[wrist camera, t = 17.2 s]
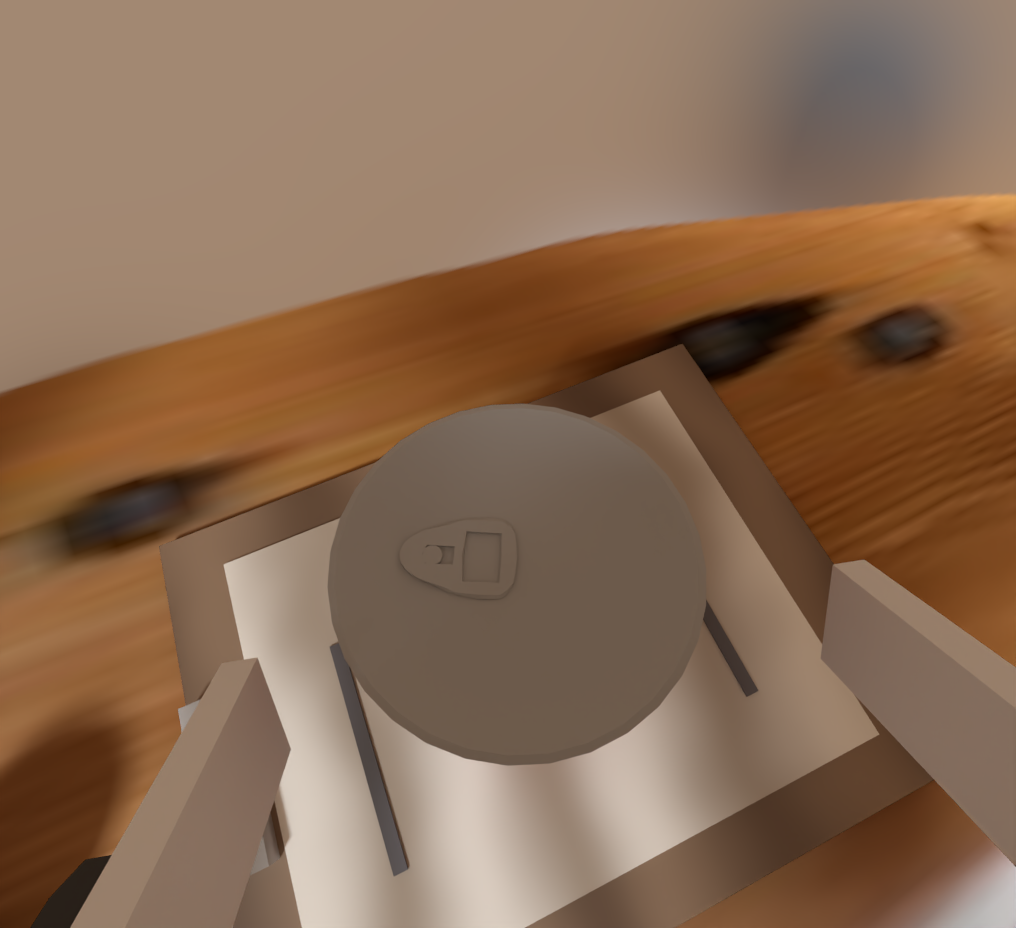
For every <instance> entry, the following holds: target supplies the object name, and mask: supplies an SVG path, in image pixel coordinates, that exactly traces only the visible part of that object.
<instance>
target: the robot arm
mask: <svg viewBox="0 0 1016 928" xmlns="http://www.w3.org/2000/svg"><path fill="white" fill-rule="evenodd" d="M820 659H821V660H822V661H823V662H824V663H825V664H826V665H827V666H828V667H829V668H830V669H831V670H832V671H833V672H834V673H835V675H836V676H837V677H838V678H839V679H840V680H841V681H842V682H843V683H844V684H845V685H846V686H847V687H848V688H849V689H850V691H851V692H852V693H853V694H854V695H855V696H856V697H857V698H858V699H859V700H860V701H861V702H862V703H863V704H864V705H865V707H866V708H867V709H868V710H869V711H870V712H871V713H872V714H873V715H874V716H875V717H876V718H877V719H878V720H879V721H880V722H881V724H882V725H883V726H884V727H885V728H886V729H887V730H888V731H889V732H890V733H891V734H892V735H893V736H894V737H895V738H896V740H897V741H898V742H899V743H900V744H901V745H902V746H903V747H904V748H905V749H906V750H907V751H908V752H909V753H910V754H911V756H912V757H913V758H914V759H915V760H916V761H917V762H918V763H919V764H920V765H921V766H922V767H923V768H924V769H925V770H926V772H927V773H928V774H929V775H930V776H931V777H932V778H933V779H934V780H935V781H936V782H937V783H938V784H939V785H940V786H941V787H942V789H943V790H944V791H945V792H946V793H947V794H948V795H949V796H950V797H951V798H952V799H953V800H954V801H955V802H956V803H957V805H958V806H959V807H960V808H961V809H962V810H963V811H964V812H965V813H966V814H967V815H968V816H969V817H970V818H971V819H972V821H973V822H974V823H975V824H976V825H977V826H978V827H979V828H980V829H981V830H982V831H983V832H984V833H985V834H986V835H987V836H988V838H989V839H990V840H991V841H992V842H993V843H994V844H995V845H996V846H997V847H998V848H999V849H1000V850H1001V851H1002V852H1003V854H1004V855H1005V856H1006V857H1007V858H1008V859H1009V860H1010V861H1011V862H1012V863H1013V864H1014V865H1015V866H1016V667H1014V666H1013V665H1011V664H1010V663H1009V662H1007V661H1006V660H1004V659H1003V658H1002V657H1000V656H999V655H997V654H996V653H995V652H993V651H992V650H990V649H989V648H988V647H986V646H985V645H983V644H982V643H981V642H979V641H978V640H976V639H975V638H974V637H972V636H971V635H969V634H968V633H967V632H965V631H964V630H962V629H961V628H960V627H958V626H957V625H955V624H954V623H953V622H951V621H950V620H948V619H947V618H946V617H944V616H943V615H941V614H940V613H939V612H937V611H936V610H934V609H933V608H932V607H930V606H929V605H927V604H926V603H925V602H923V601H922V600H920V599H919V598H918V597H916V596H915V595H913V594H912V593H911V592H909V591H908V590H906V589H905V588H904V587H902V586H901V585H899V584H898V583H897V582H895V581H894V580H892V579H891V578H890V577H888V576H887V575H885V574H884V573H883V572H881V571H880V570H878V569H877V568H876V567H874V566H873V565H871V564H870V563H869V562H867V561H866V560H858V561H852V562H846V563H840V564H833V567H832V575H831V582H830V590H829V597H828V605H827V613H826V620H825V628H824V635H823V643H822V651H821V658H820ZM290 751H291V748H290V745H289V742H288V739H287V737H286V734H285V731H284V729H283V726H282V723H281V720H280V718H279V715H278V712H277V709H276V707H275V704H274V701H273V698H272V696H271V693H270V690H269V688H268V685H267V682H266V679H265V677H264V674H263V671H262V668H261V666H260V663H259V660H258V658H251V659H245V660H238V661H232V662H226V663H221V665H220V667H219V669H218V670H217V672H216V674H215V676H214V677H213V679H212V681H211V683H210V684H209V686H208V688H207V690H206V691H205V693H204V695H203V697H202V698H201V700H200V702H199V704H198V705H197V707H196V709H195V711H194V712H193V714H192V716H191V718H190V719H189V721H188V723H187V725H186V726H185V728H184V730H183V732H182V733H181V735H180V737H179V739H178V740H177V742H176V744H175V746H174V747H173V749H172V751H171V753H170V754H169V756H168V758H167V760H166V761H165V763H164V765H163V767H162V768H161V770H160V772H159V773H158V775H157V777H156V779H155V780H154V782H153V784H152V786H151V787H150V789H149V791H148V793H147V794H146V796H145V798H144V800H143V801H142V803H141V805H140V807H139V808H138V810H137V812H136V814H135V815H134V817H133V819H132V821H131V822H130V824H129V826H128V828H127V829H126V831H125V833H124V835H123V836H122V838H121V840H120V842H119V843H118V845H117V847H116V849H115V850H114V852H113V854H112V855H109V856H103V857H98V858H92V859H87V860H85V861H84V862H83V863H82V864H81V865H80V866H79V867H78V868H77V869H76V870H75V871H74V872H73V873H72V874H71V876H70V877H69V878H68V879H67V880H66V881H65V882H64V883H63V884H62V885H61V886H60V887H59V888H58V889H57V890H56V892H55V893H54V894H53V895H52V896H51V897H50V898H49V899H48V901H47V903H46V904H45V906H44V907H43V909H42V910H41V912H40V914H39V915H38V917H37V918H36V920H35V922H34V923H33V925H32V926H31V928H233V925H234V922H235V919H236V916H237V913H238V909H239V906H240V903H241V900H242V897H243V894H244V891H245V888H246V885H247V882H248V879H249V876H250V873H251V870H252V867H253V864H254V861H255V858H256V855H257V852H258V849H259V845H260V842H261V839H262V836H263V833H264V830H265V827H266V824H267V821H268V818H269V815H270V812H271V809H272V806H273V803H274V800H275V797H276V794H277V791H278V788H279V784H280V781H281V778H282V775H283V772H284V769H285V766H286V763H287V760H288V757H289V754H290Z"/></svg>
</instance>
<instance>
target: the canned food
mask: <svg viewBox="0 0 1016 928" xmlns="http://www.w3.org/2000/svg"><path fill="white" fill-rule="evenodd" d="M327 588H328V596H329V604H330V612H331V620H332V625H333V627H334V630H335V633H336V636H337V639H338V642H339V645H340V647H341V650H342V653H343V656H344V659H345V660H346V662H347V664H348V665H349V667H350V668H351V670H352V672H353V673H354V675H355V677H356V678H357V680H358V681H359V683H360V685H361V686H362V688H363V690H364V691H365V692H366V693H367V694H368V695H369V697H370V698H371V699H372V700H373V701H374V702H375V703H376V704H377V705H378V706H379V707H380V708H381V709H382V710H383V711H384V712H385V713H386V714H387V715H388V716H389V717H390V718H391V719H392V720H393V721H394V722H396V723H397V724H399V725H400V726H402V727H403V728H404V729H406V730H407V731H409V732H410V733H412V734H413V735H415V736H416V737H418V738H419V739H421V740H422V741H424V742H425V743H427V744H430V745H432V746H435V747H437V748H440V749H442V750H445V751H447V752H450V753H452V754H455V755H457V756H460V757H462V758H465V759H470V760H476V761H482V762H488V763H494V764H500V765H506V766H512V765H532V764H550V763H554V762H558V761H561V760H565V759H569V758H572V757H576V756H580V755H583V754H587V753H591V752H593V751H595V750H597V749H598V748H600V747H602V746H604V745H606V744H608V743H610V742H612V741H614V740H616V739H618V738H619V737H621V736H623V735H625V734H627V733H628V732H630V731H631V730H632V729H633V728H634V727H636V726H637V725H638V724H639V723H640V722H641V721H643V720H644V719H645V718H646V717H647V716H649V715H650V714H651V713H652V712H653V711H654V710H656V709H657V708H658V707H659V706H660V704H661V703H662V702H663V701H664V699H665V698H666V697H667V695H668V694H669V693H670V691H671V690H672V689H673V687H674V686H675V685H676V683H677V682H678V681H679V679H680V678H681V677H682V675H683V673H684V671H685V669H686V667H687V664H688V662H689V660H690V658H691V656H692V654H693V651H694V649H695V647H696V645H697V643H698V640H699V635H700V631H701V626H702V622H703V617H704V613H705V608H706V565H705V560H704V555H703V550H702V546H701V541H700V536H699V533H698V530H697V528H696V526H695V523H694V521H693V518H692V516H691V514H690V511H689V509H688V507H687V504H686V502H685V501H684V499H683V498H682V496H681V495H680V493H679V492H678V490H677V489H676V487H675V486H674V484H673V483H672V481H671V480H670V478H669V477H668V475H667V474H666V473H665V472H664V471H663V470H662V469H661V468H660V467H659V466H658V465H657V464H656V463H655V462H654V461H653V460H652V459H651V458H650V457H649V455H648V454H647V453H646V452H645V451H644V450H642V449H641V448H640V447H638V446H637V445H635V444H634V443H633V442H631V441H630V440H628V439H627V438H626V437H624V436H623V435H621V434H620V433H619V432H617V431H615V430H613V429H611V428H609V427H607V426H605V425H603V424H601V423H599V422H597V421H595V420H593V419H591V418H589V417H586V416H583V415H580V414H576V413H573V412H569V411H566V410H562V409H559V408H556V407H547V406H539V405H531V404H502V405H488V406H484V407H479V408H474V409H469V410H465V411H460V412H457V413H454V414H452V415H449V416H447V417H444V418H442V419H439V420H437V421H434V422H432V423H429V424H427V425H426V426H424V427H422V428H421V429H419V430H417V431H416V432H414V433H412V434H411V435H409V436H408V437H406V438H404V439H403V440H401V441H400V442H399V443H397V444H396V445H395V446H394V447H393V448H392V449H391V450H389V451H388V452H387V453H386V454H385V455H384V456H383V457H382V458H380V459H379V460H378V461H377V462H376V463H375V464H374V466H373V467H372V468H371V469H370V471H369V472H368V473H367V474H366V476H365V477H364V478H363V480H362V481H361V482H360V483H359V485H358V486H357V487H356V488H355V490H354V492H353V494H352V496H351V498H350V500H349V502H348V504H347V506H346V508H345V510H344V511H343V513H342V515H341V517H340V520H339V523H338V527H337V530H336V533H335V537H334V540H333V544H332V547H331V551H330V560H329V573H328V585H327Z"/></svg>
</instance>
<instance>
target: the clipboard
mask: <svg viewBox="0 0 1016 928" xmlns="http://www.w3.org/2000/svg"><path fill="white" fill-rule="evenodd" d="M528 404H531V405H539V406H547V407H556V408H559V409H562V410H566V411H569V412H573V413H576V414H580V415H583V416H586V417H589V418H591V419H593V420H595V421H597V422H599V423H601V424H603V425H605V426H607V427H609V428H611V429H613V430H615V431H617V432H619V433H620V434H621V435H623V436H624V437H626V438H627V439H628V440H630V441H631V442H633V443H634V444H635V445H637V446H638V447H640V448H641V449H642V450H644V451H645V452H646V453H647V454H648V455H649V457H650V458H651V459H652V460H653V461H654V462H655V463H656V464H657V465H658V466H659V467H660V468H661V469H662V470H663V471H664V472H665V473H666V474H667V475H668V477H669V478H670V480H671V481H672V483H673V484H674V486H675V487H676V489H677V490H678V492H679V493H680V495H681V496H682V498H683V499H684V501H685V502H686V504H687V507H688V509H689V511H690V514H691V516H692V518H693V521H694V523H695V526H696V528H697V530H698V533H699V536H700V541H701V546H702V550H703V555H704V560H705V565H706V608H705V613H704V617H703V622H702V626H701V631H700V635H699V640H698V643H697V645H696V647H695V649H694V651H693V654H692V656H691V658H690V660H689V662H688V664H687V667H686V669H685V671H684V673H683V675H682V677H681V678H680V679H679V681H678V682H677V683H676V685H675V686H674V687H673V689H672V690H671V691H670V693H669V694H668V695H667V697H666V698H665V699H664V701H663V702H662V703H661V704H660V706H659V707H658V708H657V709H656V710H654V711H653V712H652V713H651V714H650V715H649V716H647V717H646V718H645V719H644V720H643V721H641V722H640V723H639V724H638V725H637V726H636V727H634V728H633V729H632V730H631V731H630V732H628V733H627V734H625V735H623V736H621V737H619V738H618V739H616V740H614V741H612V742H610V743H608V744H606V745H604V746H602V747H600V748H598V749H597V750H595V751H593V752H591V753H587V754H583V755H580V756H576V757H572V758H569V759H565V760H561V761H558V762H554V763H550V764H532V765H512V766H506V765H500V764H494V763H488V762H482V761H476V760H470V759H465V758H462V757H460V756H457V755H455V754H452V753H450V752H447V751H445V750H442V749H440V748H437V747H435V746H432V745H430V744H427V743H425V742H424V741H422V740H421V739H419V738H418V737H416V736H415V735H413V734H412V733H410V732H409V731H407V730H406V729H404V728H403V727H402V726H400V725H399V724H397V723H396V722H394V721H393V720H392V719H391V718H390V717H389V716H388V715H387V714H386V713H385V712H384V711H383V710H382V709H381V708H380V707H379V706H378V705H377V704H376V703H375V702H374V701H373V700H372V699H371V698H370V697H369V695H368V694H367V693H366V692H365V691H364V690H363V688H362V686H361V685H360V683H359V681H358V680H357V678H356V677H355V675H354V673H353V672H352V670H351V668H350V667H349V665H348V664H347V662H346V660H345V659H344V656H343V653H342V650H341V647H340V645H339V642H338V639H337V636H336V633H335V630H334V627H333V625H332V620H331V612H330V604H329V596H328V588H327V585H328V573H329V560H330V551H331V547H332V544H333V540H334V537H335V533H336V530H337V527H338V523H339V520H340V517H341V515H342V513H343V511H344V510H345V508H346V506H347V504H348V502H349V500H350V498H351V496H352V494H353V492H354V490H355V488H356V487H357V486H358V485H359V483H360V482H361V481H362V480H363V478H364V477H365V476H366V474H367V473H368V472H369V471H370V469H371V468H372V467H373V466H374V464H375V463H376V462H375V463H373V464H370V465H368V466H365V467H363V468H360V469H357V470H355V471H352V472H350V473H347V474H344V475H342V476H339V477H337V478H334V479H332V480H329V481H326V482H324V483H321V484H319V485H316V486H313V487H311V488H308V489H306V490H303V491H301V492H298V493H295V494H293V495H290V496H288V497H285V498H282V499H280V500H277V501H275V502H272V503H270V504H267V505H264V506H262V507H259V508H257V509H254V510H251V511H249V512H246V513H244V514H241V515H239V516H236V517H233V518H231V519H228V520H226V521H223V522H220V523H218V524H215V525H213V526H210V527H208V528H205V529H202V530H200V531H197V532H195V533H192V534H189V535H187V536H184V537H182V538H179V539H177V540H174V541H171V542H169V543H166V544H164V545H161V546H159V549H160V555H161V561H162V567H163V573H164V579H165V584H166V590H167V596H168V602H169V608H170V614H171V620H172V626H173V632H174V638H175V644H176V650H177V656H178V662H179V668H180V673H181V679H182V685H183V691H184V697H185V703H186V706H184V707H182V708H179V709H178V712H179V718H180V724H181V730H182V732H183V730H184V728H185V726H186V725H187V723H188V721H189V719H190V718H191V716H192V714H193V712H194V711H195V709H196V707H197V705H198V704H199V702H200V700H201V698H202V697H203V695H204V693H205V691H206V690H207V688H208V686H209V684H210V683H211V681H212V679H213V677H214V676H215V674H216V672H217V670H218V669H219V667H220V665H221V663H226V662H232V661H238V660H245V659H251V658H258V660H259V663H260V666H261V668H262V671H263V674H264V677H265V679H266V682H267V685H268V688H269V690H270V693H271V696H272V698H273V701H274V704H275V707H276V709H277V712H278V715H279V718H280V720H281V723H282V726H283V729H284V731H285V734H286V737H287V739H288V742H289V745H290V748H291V751H290V754H289V757H288V760H287V763H286V766H285V769H284V772H283V775H282V778H281V781H280V784H279V788H278V791H277V794H276V797H275V800H274V803H273V806H272V809H271V812H270V815H269V818H268V821H267V824H266V827H265V830H264V833H263V836H262V839H261V842H260V845H259V849H258V852H257V855H256V858H255V861H254V864H253V867H252V870H251V873H250V876H249V879H248V882H247V885H246V888H245V891H244V894H243V897H242V900H241V903H240V906H239V909H238V913H237V916H236V919H235V922H234V925H233V928H675V927H677V926H679V925H680V924H682V923H684V922H686V921H687V920H689V919H691V918H693V917H694V916H696V915H698V914H700V913H701V912H703V911H705V910H707V909H708V908H710V907H712V906H714V905H715V904H717V903H719V902H721V901H722V900H724V899H726V898H728V897H729V896H731V895H733V894H735V893H737V892H738V891H740V890H742V889H744V888H745V887H747V886H749V885H751V884H752V883H754V882H756V881H758V880H759V879H761V878H763V877H765V876H766V875H768V874H770V873H772V872H773V871H775V870H777V869H779V868H780V867H782V866H784V865H786V864H787V863H789V862H791V861H793V860H794V859H796V858H798V857H800V856H801V855H803V854H805V853H807V852H808V851H810V850H812V849H814V848H815V847H817V846H819V845H821V844H822V843H824V842H826V841H828V840H829V839H831V838H833V837H835V836H836V835H838V834H840V833H842V832H843V831H845V830H847V829H849V828H850V827H852V826H854V825H856V824H857V823H859V822H861V821H863V820H864V819H866V818H868V817H870V816H871V815H873V814H875V813H877V812H878V811H880V810H882V809H884V808H885V807H887V806H889V805H891V804H892V803H894V802H896V801H898V800H899V799H901V798H903V797H905V796H906V795H908V794H910V793H912V792H913V791H915V790H917V789H919V788H920V787H922V786H924V785H926V784H927V783H929V782H931V781H933V780H934V779H933V778H932V777H931V776H930V775H929V774H928V773H927V772H926V770H925V769H924V768H923V767H922V766H921V765H920V764H919V763H918V762H917V761H916V760H915V759H914V758H913V757H912V756H911V754H910V753H909V752H908V751H907V750H906V749H905V748H904V747H903V746H902V745H901V744H900V743H899V742H898V741H897V740H896V738H895V737H894V736H893V735H892V734H891V733H890V732H889V731H888V730H887V729H886V728H885V727H884V726H883V725H882V724H881V722H880V721H879V720H878V719H877V718H876V717H875V716H874V715H873V714H872V713H871V712H870V711H869V710H868V709H867V708H866V707H865V705H864V704H863V703H862V702H861V701H860V700H859V699H858V698H857V697H856V696H855V695H854V694H853V693H852V692H851V691H850V689H849V688H848V687H847V686H846V685H845V684H844V683H843V682H842V681H841V680H840V679H839V678H838V677H837V676H836V675H835V673H834V672H833V671H832V670H831V669H830V668H829V667H828V666H827V665H826V664H825V663H824V662H823V661H822V660H821V659H820V658H821V651H822V643H823V635H824V628H825V620H826V613H827V605H828V597H829V590H830V582H831V575H832V567H833V562H832V561H831V559H830V558H829V556H828V555H827V554H826V552H825V551H824V549H823V548H822V546H821V545H820V543H819V542H818V540H817V539H816V537H815V536H814V535H813V533H812V532H811V530H810V529H809V527H808V526H807V524H806V523H805V521H804V520H803V519H802V517H801V516H800V514H799V513H798V511H797V510H796V508H795V507H794V505H793V504H792V503H791V501H790V500H789V498H788V497H787V495H786V494H785V492H784V491H783V489H782V488H781V487H780V485H779V484H778V482H777V481H776V479H775V478H774V476H773V475H772V473H771V472H770V471H769V469H768V468H767V466H766V465H765V463H764V462H763V460H762V459H761V457H760V456H759V454H758V453H757V452H756V450H755V449H754V447H753V446H752V444H751V443H750V441H749V440H748V438H747V437H746V436H745V434H744V433H743V431H742V430H741V428H740V427H739V425H738V424H737V422H736V421H735V420H734V418H733V417H732V415H731V414H730V412H729V411H728V409H727V408H726V406H725V405H724V404H723V402H722V401H721V399H720V398H719V396H718V395H717V393H716V392H715V390H714V389H713V388H712V386H711V385H710V383H709V382H708V380H707V379H706V377H705V376H704V374H703V373H702V371H701V370H700V369H699V367H698V366H697V364H696V363H695V361H694V360H693V358H692V357H691V355H690V354H689V353H688V351H687V350H686V348H685V347H684V345H683V344H680V345H678V346H675V347H673V348H670V349H667V350H665V351H662V352H660V353H657V354H654V355H652V356H649V357H647V358H644V359H642V360H639V361H636V362H634V363H631V364H629V365H626V366H623V367H621V368H618V369H616V370H613V371H611V372H608V373H605V374H603V375H600V376H598V377H595V378H592V379H590V380H587V381H585V382H582V383H580V384H577V385H574V386H572V387H569V388H567V389H564V390H561V391H559V392H556V393H554V394H551V395H549V396H546V397H543V398H541V399H538V400H536V401H533V402H530V403H528Z"/></svg>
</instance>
